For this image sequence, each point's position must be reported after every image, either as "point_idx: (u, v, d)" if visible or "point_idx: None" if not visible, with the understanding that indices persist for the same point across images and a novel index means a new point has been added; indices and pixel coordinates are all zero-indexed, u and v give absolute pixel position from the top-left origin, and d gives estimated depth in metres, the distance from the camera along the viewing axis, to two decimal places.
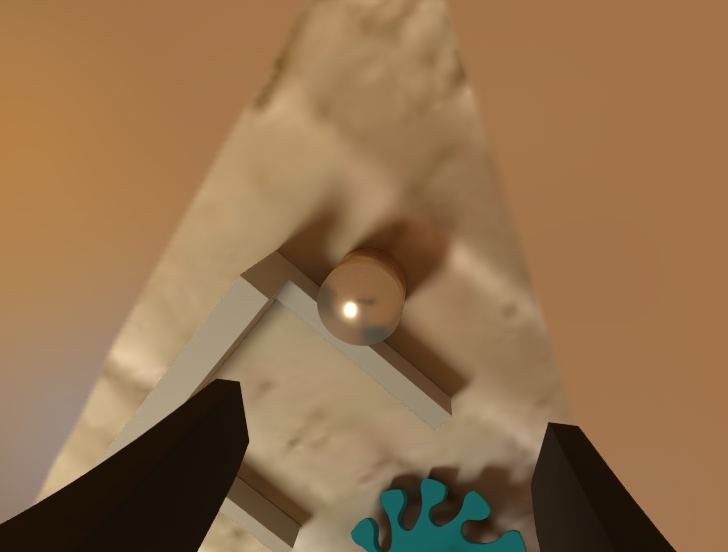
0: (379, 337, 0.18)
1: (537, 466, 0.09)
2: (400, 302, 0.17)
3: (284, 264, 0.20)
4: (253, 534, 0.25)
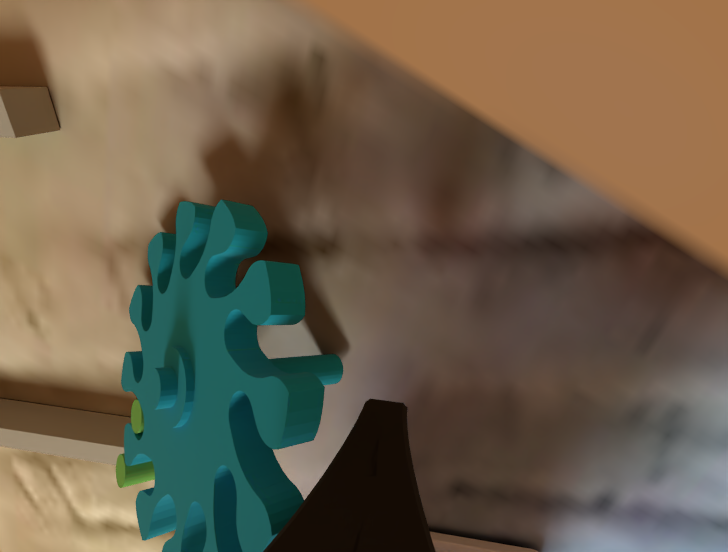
0: None
1: None
2: None
3: None
4: (86, 458, 0.18)
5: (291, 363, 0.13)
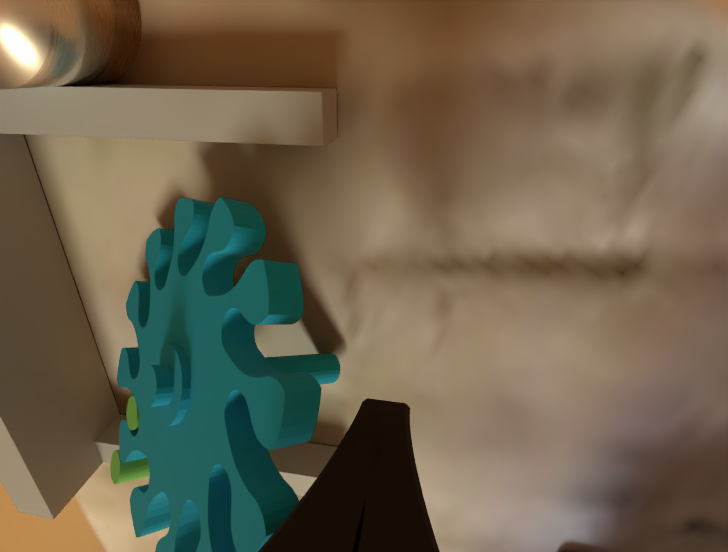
0: (37, 17, 0.08)
1: None
2: None
3: None
4: None
5: (288, 362, 0.13)
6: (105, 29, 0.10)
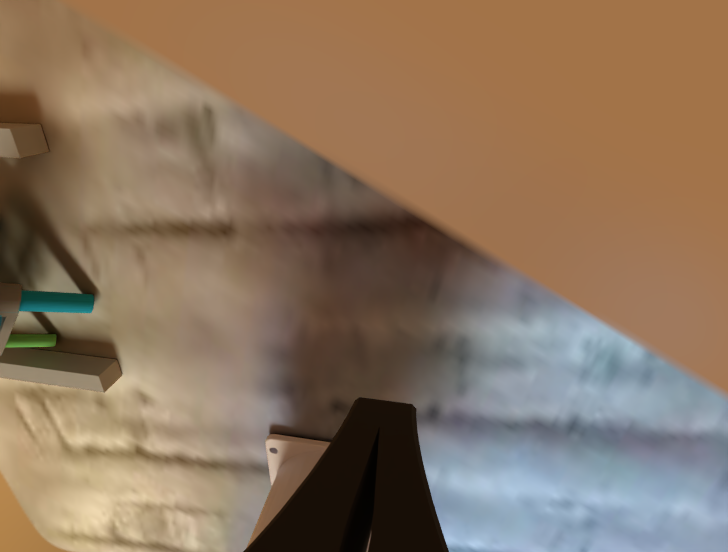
0: None
1: None
2: None
3: None
4: (69, 385, 0.24)
5: (48, 294, 0.21)
6: None
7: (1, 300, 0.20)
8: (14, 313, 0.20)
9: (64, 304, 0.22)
